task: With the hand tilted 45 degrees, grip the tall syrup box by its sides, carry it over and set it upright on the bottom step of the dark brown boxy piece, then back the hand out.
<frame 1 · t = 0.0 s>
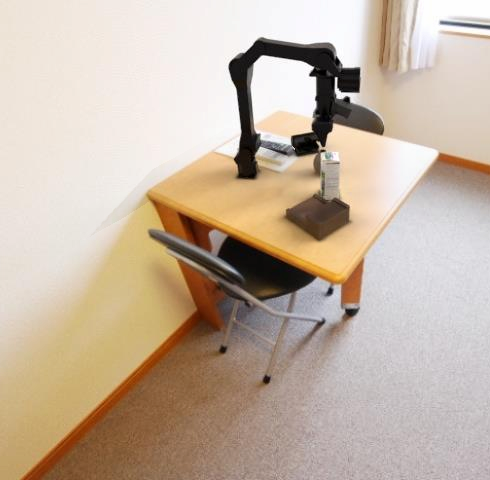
hand: (325, 140, 115), 15 cm above the table, tool pointing down, fingers open, 9 cm apart
syrup box: (329, 195, 118), on the table
vase: (322, 173, 128), on the table
dark brown boxy piece: (317, 219, 108), on the table
end cap: (305, 150, 141), on the table
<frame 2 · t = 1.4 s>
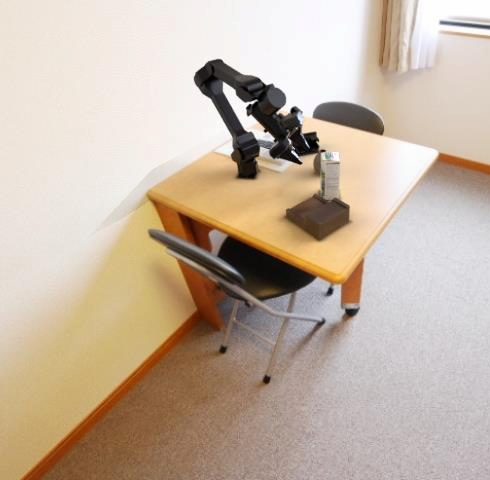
hand: (305, 156, 110), 13 cm above the table, tool tilted 45°, fingers open, 9 cm apart
nothing on the table moved.
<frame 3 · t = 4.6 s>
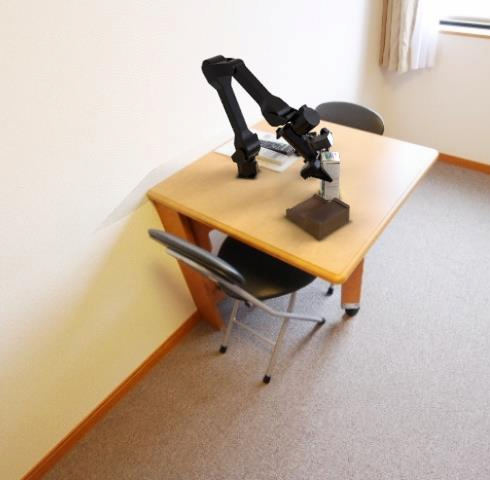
hand: (334, 175, 112), 8 cm above the table, tool tilted 45°, fingers closed on syrup box, 7 cm apart
syrup box: (329, 195, 118), on the table, touching gripper
everything else where it was.
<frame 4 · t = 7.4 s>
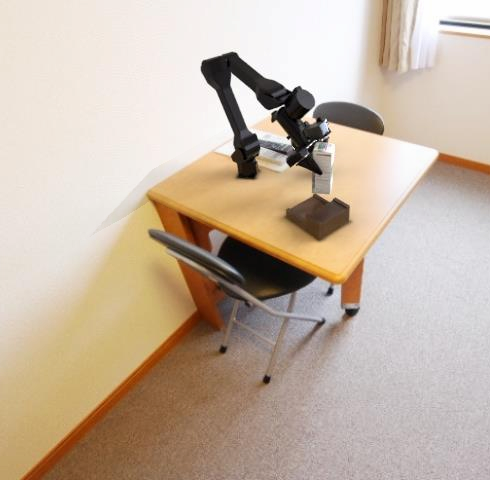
hand: (327, 169, 105), 13 cm above the table, tool tilted 45°, fingers closed on syrup box, 7 cm apart
syrup box: (322, 189, 110), point 5 cm above the table, touching gripper
everything else where it was.
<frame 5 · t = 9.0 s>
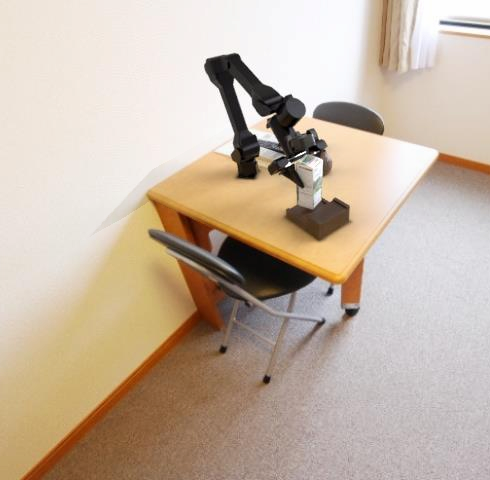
hand: (312, 183, 101), 12 cm above the table, tool tilted 45°, fingers closed on syrup box, 7 cm apart
syrup box: (309, 203, 107), point 4 cm above the table, touching gripper
everything else where it was.
when the fingers open (10 cm above the table, at t = 10.3 s): syrup box stays where it is, resting on dark brown boxy piece.
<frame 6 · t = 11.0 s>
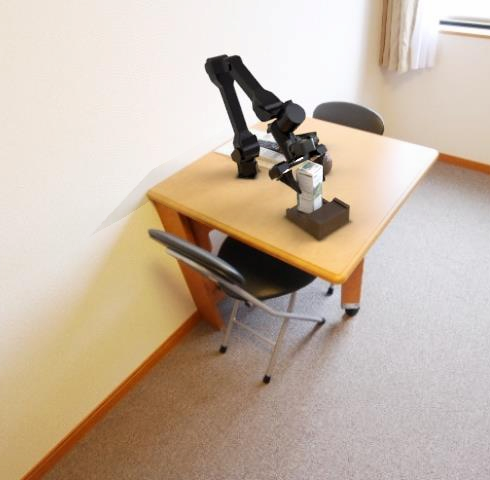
hand: (312, 187, 102), 11 cm above the table, tool tilted 45°, fingers open, 9 cm apart
syrup box: (310, 208, 108), point 2 cm above the table, touching dark brown boxy piece
everything else where it was.
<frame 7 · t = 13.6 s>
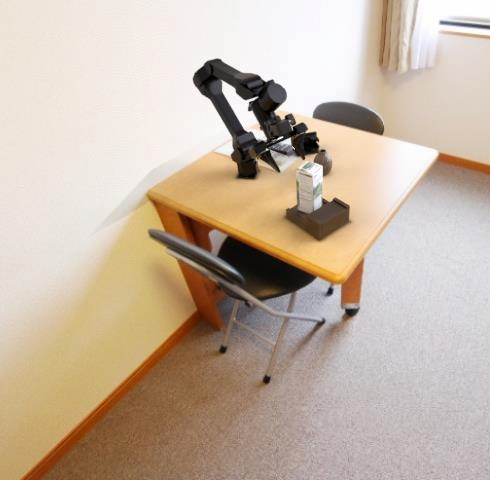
hand: (292, 166, 106), 13 cm above the table, tool tilted 40°, fingers open, 9 cm apart
nothing on the table moved.
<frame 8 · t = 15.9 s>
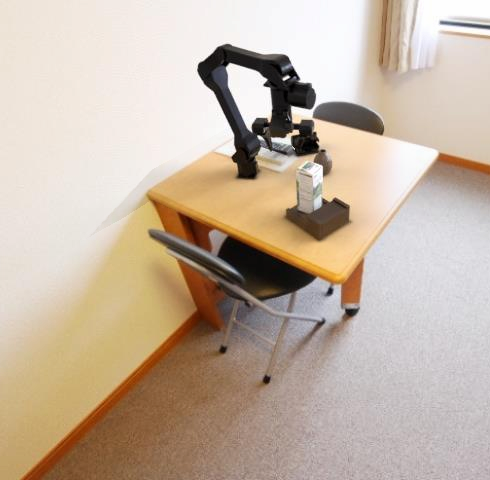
hand: (285, 151, 113), 13 cm above the table, tool pointing down, fingers open, 9 cm apart
nothing on the table moved.
at the end: syrup box 0.2 cm from the target spot on the dark brown boxy piece, point 2.3 cm above the dark brown boxy piece's base; syrup box tilted 0°; the gripper is holding nothing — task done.
